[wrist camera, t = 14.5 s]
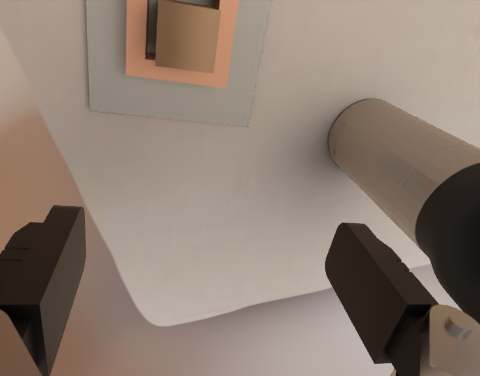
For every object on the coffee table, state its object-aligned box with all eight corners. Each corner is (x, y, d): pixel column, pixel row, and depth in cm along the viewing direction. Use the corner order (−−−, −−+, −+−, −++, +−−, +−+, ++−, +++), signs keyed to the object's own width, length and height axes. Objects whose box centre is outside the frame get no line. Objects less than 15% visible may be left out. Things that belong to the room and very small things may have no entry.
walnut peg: (206, 5, 31) (221, 10, 22) (201, 52, 33) (213, 73, 24) (161, -3, 30) (158, -1, 22) (158, 46, 32) (155, 65, 23)
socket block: (280, -73, 30) (300, -85, 26) (245, 123, 39) (255, 141, 34) (85, -122, 27) (67, -147, 22) (92, 106, 35) (80, 124, 30)
